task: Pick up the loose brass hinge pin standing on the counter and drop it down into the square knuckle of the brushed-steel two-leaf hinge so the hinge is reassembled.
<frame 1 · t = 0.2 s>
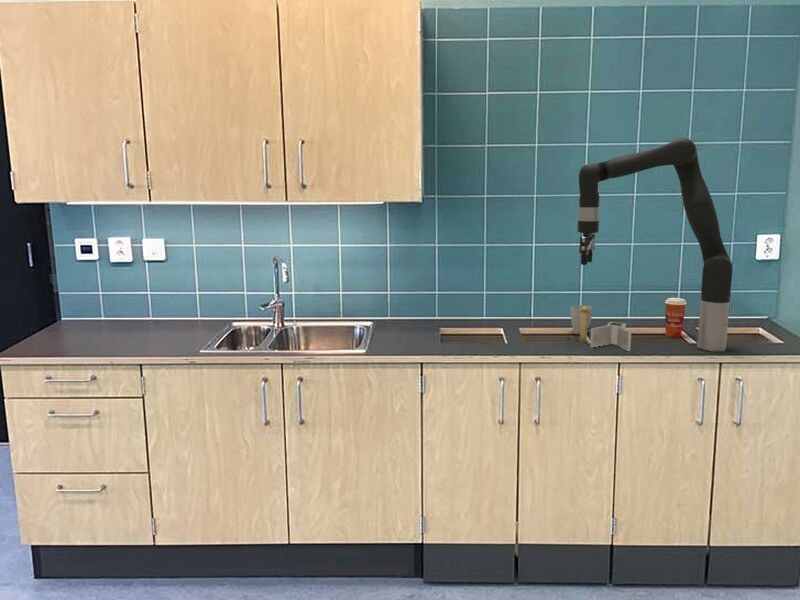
hand: (586, 263, 267), 28 cm above the table, fingers open, 8 cm apart
pin: (583, 341, 265), on the table
cup: (580, 333, 279), on the table
hinge: (615, 342, 263), on the table
paper cup: (673, 336, 274), on the table
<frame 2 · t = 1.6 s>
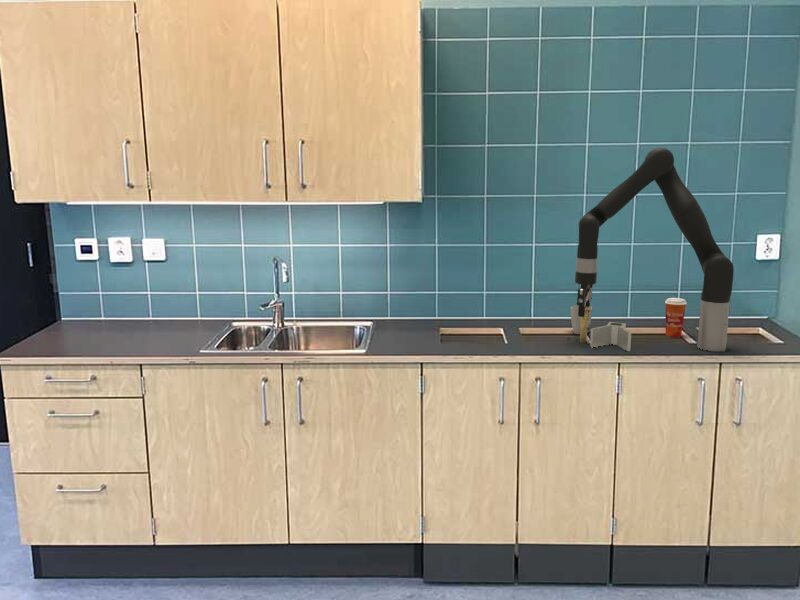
hand: (583, 314, 263), 10 cm above the table, fingers open, 8 cm apart
nothing on the table moved.
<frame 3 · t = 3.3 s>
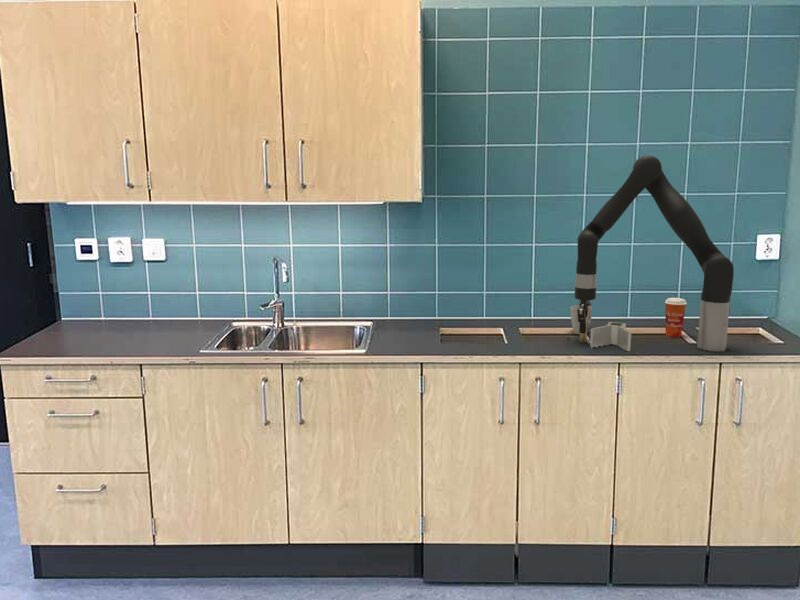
hand: (583, 332, 264), 4 cm above the table, fingers closed on pin, 2 cm apart
pin: (583, 341, 265), on the table, touching gripper
everything else where it was.
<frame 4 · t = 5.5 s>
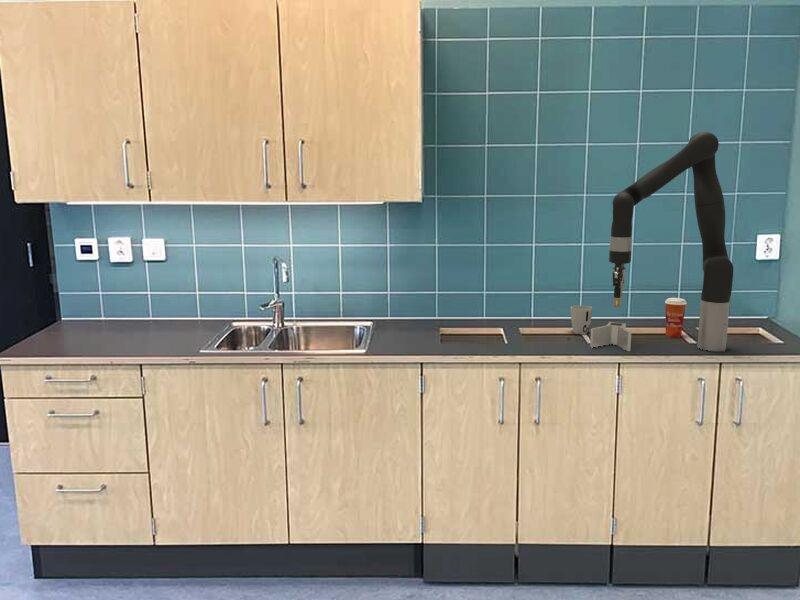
hand: (617, 296, 260), 17 cm above the table, fingers closed on pin, 2 cm apart
pin: (617, 306, 260), point 14 cm above the table, touching gripper
everything else where it was.
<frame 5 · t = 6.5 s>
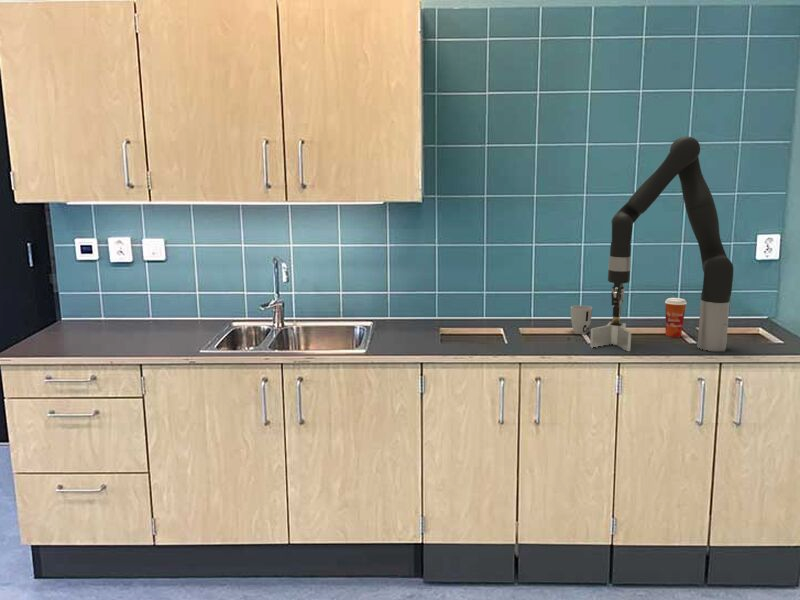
hand: (616, 315, 261), 10 cm above the table, fingers closed on pin, 2 cm apart
pin: (615, 325, 262), point 6 cm above the table, touching gripper
everything else where it was.
when the fingers open (8 cm above the table, at t = 7.5 s): pin drops 4 cm, resting in hinge.
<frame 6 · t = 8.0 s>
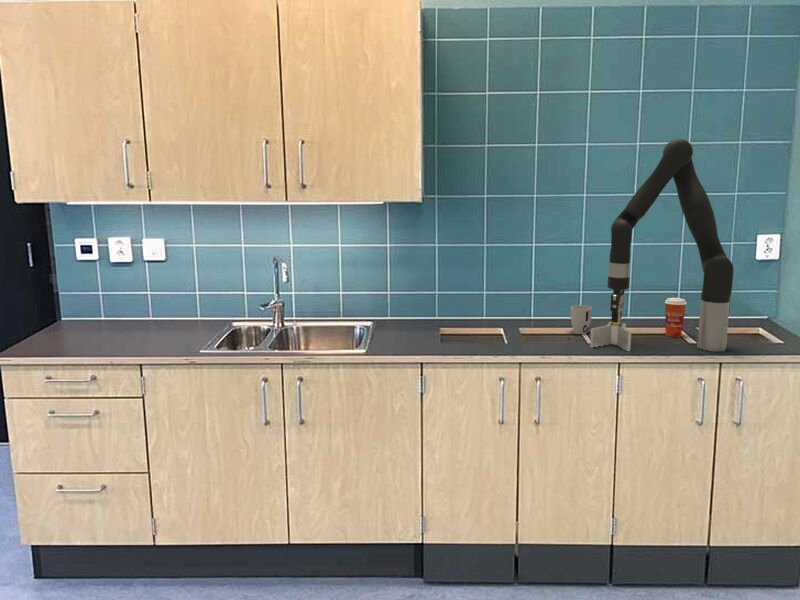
hand: (616, 320, 261), 9 cm above the table, fingers open, 7 cm apart
pin: (615, 342, 263), resting in hinge
everything else where it was.
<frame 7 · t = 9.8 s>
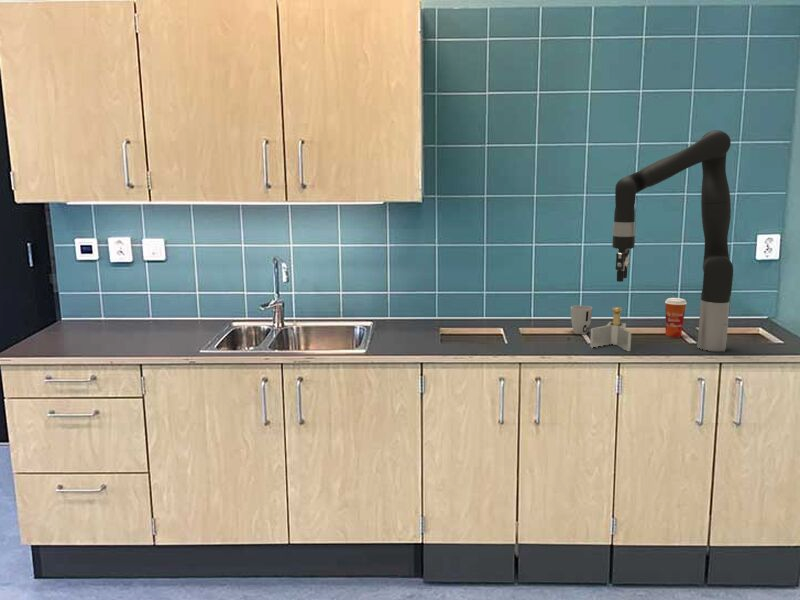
hand: (621, 279, 259), 23 cm above the table, fingers open, 8 cm apart
nothing on the table moved.
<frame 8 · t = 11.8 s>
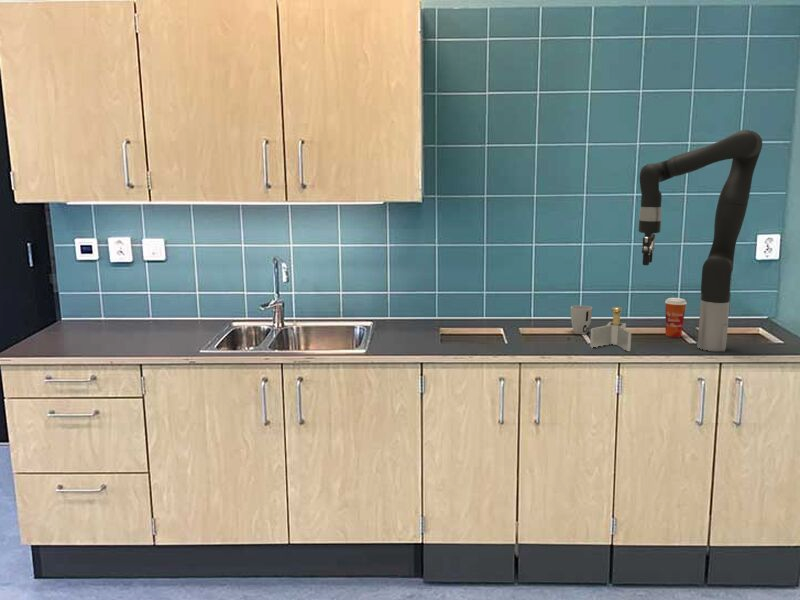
hand: (647, 263, 265), 28 cm above the table, fingers open, 8 cm apart
nothing on the table moved.
at the end: pin 0.1 cm from the hinge (horizontally); pin resting in hinge; pin tilted 0° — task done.
